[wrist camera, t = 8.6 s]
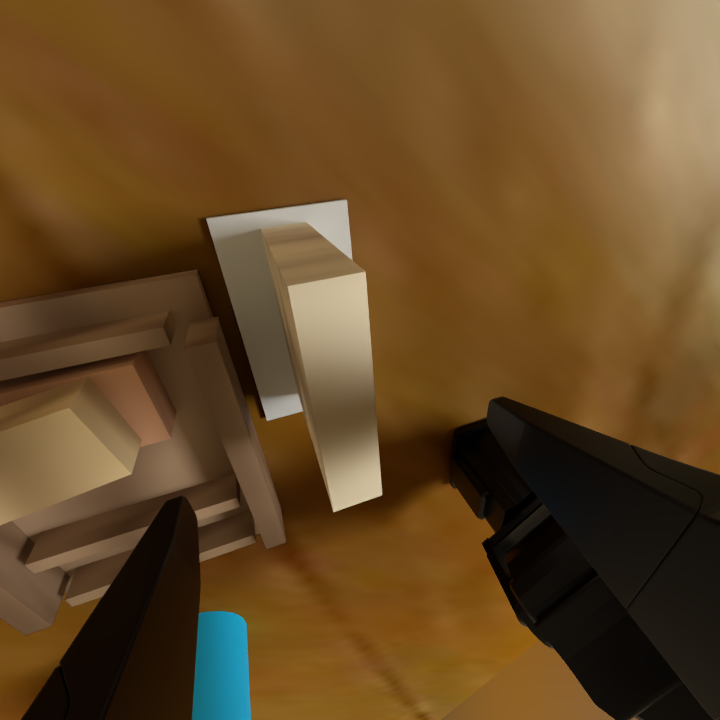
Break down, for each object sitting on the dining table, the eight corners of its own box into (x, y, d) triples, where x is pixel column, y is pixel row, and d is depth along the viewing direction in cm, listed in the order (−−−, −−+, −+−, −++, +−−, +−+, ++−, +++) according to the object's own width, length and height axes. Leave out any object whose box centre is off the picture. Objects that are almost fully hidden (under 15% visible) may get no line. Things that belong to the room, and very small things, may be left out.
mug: (128, 632, 26) (94, 798, 19) (243, 599, 28) (248, 735, 22) (159, 696, 32) (141, 840, 25) (252, 663, 34) (258, 786, 27)
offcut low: (142, 342, 15) (132, 365, 13) (176, 411, 17) (171, 438, 16) (-52, 382, 13) (-90, 413, 12) (11, 453, 16) (-13, 488, 14)
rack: (204, 268, 15) (199, 293, 12) (285, 514, 25) (292, 559, 22) (-203, 335, 12) (-330, 389, 9) (70, 587, 22) (47, 650, 19)
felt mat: (345, 199, 16) (347, 199, 15) (363, 391, 21) (364, 394, 21) (206, 217, 14) (206, 218, 14) (266, 417, 20) (266, 420, 20)
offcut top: (88, 376, 13) (68, 407, 11) (141, 439, 15) (131, 474, 14) (-57, 426, 12) (-100, 466, 11) (20, 485, 14) (-7, 528, 13)
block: (331, 384, 20) (382, 495, 14) (297, 393, 20) (333, 512, 13) (306, 221, 15) (365, 271, 9) (260, 228, 15) (287, 286, 8)
